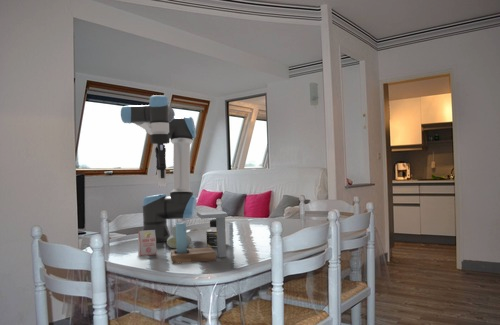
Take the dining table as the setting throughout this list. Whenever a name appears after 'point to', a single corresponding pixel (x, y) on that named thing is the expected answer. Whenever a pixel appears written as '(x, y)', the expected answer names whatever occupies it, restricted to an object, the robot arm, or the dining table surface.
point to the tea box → (146, 243)
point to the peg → (181, 238)
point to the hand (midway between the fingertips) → (161, 185)
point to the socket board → (193, 255)
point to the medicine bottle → (213, 234)
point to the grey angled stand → (220, 228)
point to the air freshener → (172, 239)
